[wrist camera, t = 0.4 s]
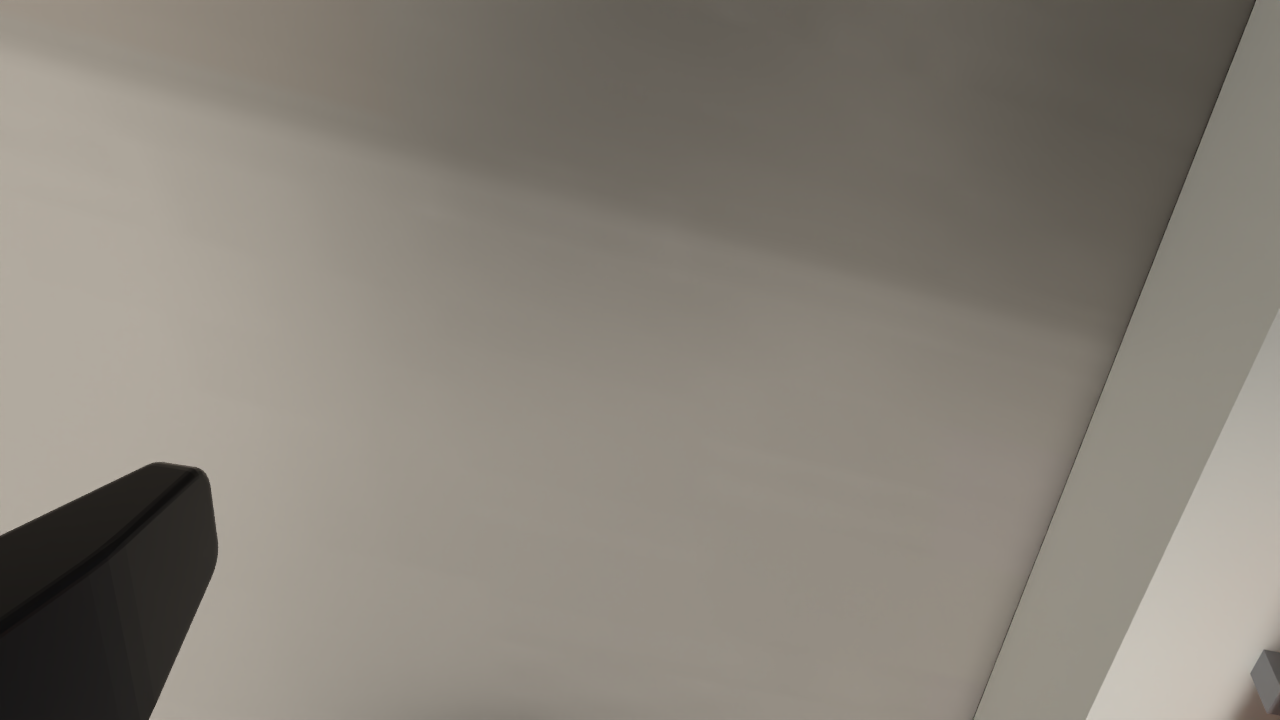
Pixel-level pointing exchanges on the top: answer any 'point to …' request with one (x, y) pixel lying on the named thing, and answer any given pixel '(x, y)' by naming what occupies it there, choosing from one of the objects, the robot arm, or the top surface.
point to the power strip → (1177, 462)
